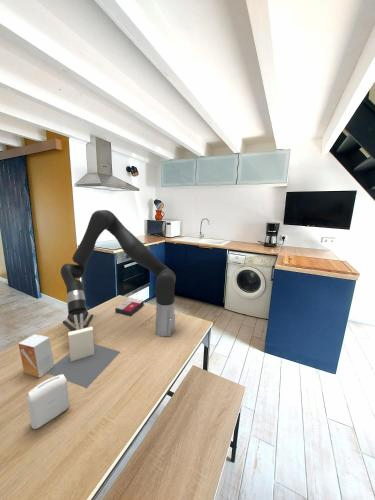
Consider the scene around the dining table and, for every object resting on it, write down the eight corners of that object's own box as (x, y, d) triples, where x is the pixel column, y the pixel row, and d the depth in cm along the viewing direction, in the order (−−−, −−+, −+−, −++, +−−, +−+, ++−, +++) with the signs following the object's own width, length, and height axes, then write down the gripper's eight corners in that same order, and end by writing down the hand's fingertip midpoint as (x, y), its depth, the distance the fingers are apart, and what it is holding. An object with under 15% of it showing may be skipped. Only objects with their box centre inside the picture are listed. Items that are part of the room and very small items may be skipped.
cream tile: (70, 357, 88) (68, 332, 85) (93, 350, 92) (92, 326, 90) (70, 361, 85) (68, 335, 83) (94, 354, 90) (93, 329, 88)
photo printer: (33, 433, 59) (28, 397, 57) (29, 422, 62) (24, 388, 60) (71, 407, 67) (68, 375, 65) (66, 399, 70) (63, 368, 67)
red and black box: (114, 307, 125) (129, 296, 139) (115, 313, 126) (129, 302, 140) (130, 311, 122) (143, 299, 135) (130, 317, 123) (144, 305, 137)
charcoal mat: (120, 352, 93) (120, 351, 92) (86, 389, 74) (86, 388, 74) (84, 342, 98) (84, 341, 98) (44, 373, 80) (44, 372, 80)
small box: (23, 373, 79) (17, 343, 77) (40, 362, 85) (34, 333, 82) (39, 378, 77) (33, 347, 74) (55, 366, 82) (49, 336, 80)
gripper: (59, 301, 92) (63, 342, 84) (92, 296, 99) (97, 332, 91) (60, 307, 97) (63, 345, 90) (91, 301, 104) (96, 336, 97)
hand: (80, 339), depth 91 cm, fingers closed
